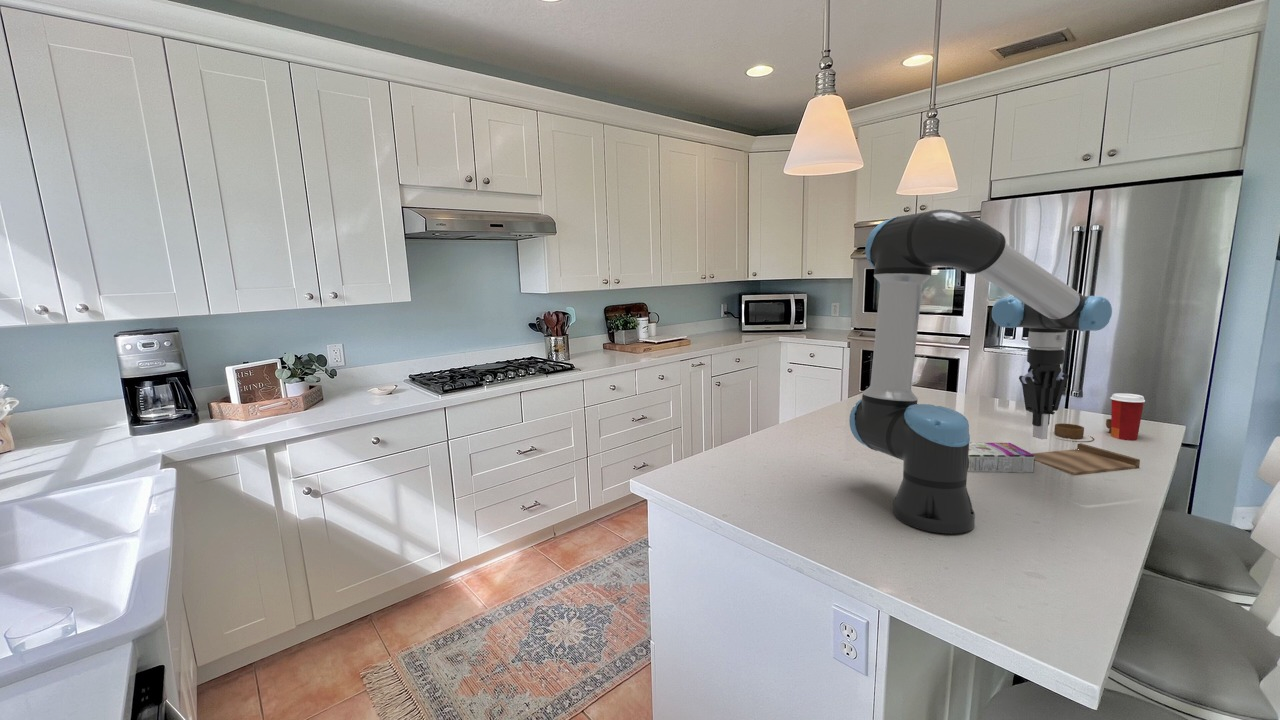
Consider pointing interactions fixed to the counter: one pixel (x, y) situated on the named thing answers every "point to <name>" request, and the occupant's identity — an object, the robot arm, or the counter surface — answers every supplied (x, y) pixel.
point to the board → (1086, 460)
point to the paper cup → (1126, 415)
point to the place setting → (1074, 431)
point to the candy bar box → (999, 458)
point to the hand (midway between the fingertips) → (1039, 437)
